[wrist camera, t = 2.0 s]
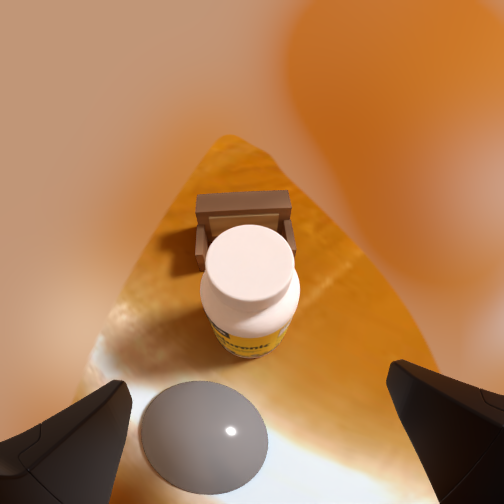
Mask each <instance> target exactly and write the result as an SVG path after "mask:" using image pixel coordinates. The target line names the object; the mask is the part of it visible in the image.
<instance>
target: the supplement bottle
mask: <svg viewBox="0 0 504 504" xmlns="http://www.w3.org/2000/svg"><path fill="white" fill-rule="evenodd" d="M205 269H206V270H205V272H204V274H203V277H202V280H201V286H200V295H201V301H202V305H203V308H204V311H205V313H206V315H207V317H208V319H209V322H210V324H211V326H212V329H213V331H214V333H215V335H216V337H217V339H218V341H219V342H220V343H221V345H222V346H223V347H224V348H225V349H226V350H227V351H229V352H230V353H232V354H234V355H236V356H239V357H243V358H257V357H261V356H264V355H266V354H268V353H270V352H271V351H273V350H274V349H275V348H276V347H277V346H278V345H279V343H280V342H281V341H282V339H283V337H284V335H285V333H286V331H287V328H288V326H289V324H290V322H291V319H292V317H293V315H294V313H295V310H296V308H297V304H298V300H299V295H300V285H299V279H298V276H297V273H296V271H295V269H294V256H293V253H292V250H291V248H290V246H289V244H288V243H287V242H286V240H285V239H284V238H283V237H282V236H281V235H279V234H278V233H277V232H275V231H273V230H271V229H269V228H267V227H263V226H259V225H241V226H236V227H233V228H230V229H228V230H226V231H224V232H223V233H221V234H220V235H219V236H218V237H217V238H216V239H215V240H214V241H213V242H212V244H211V245H210V247H209V249H208V251H207V254H206V259H205Z"/></svg>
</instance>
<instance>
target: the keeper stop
mask: <svg viewBox="0 0 504 504" xmlns="http://www.w3.org/2000/svg"><path fill="white" fill-rule="evenodd" d="M291 209H292V207H291V202H290V198H289V193H288V190H278V191H251V192H231V193H215V194H200V195H197V201H196V212H195V213H196V217H197V221H198V225H197V233H196V249H195V256H196V259H197V262H198V266H199V269H200V271H205V270H206V269H205V259H206V254H207V251H208V242H209V241H214V240H215V239H216V238H217V237H218V236H219V235H220V234H221V233H223V232H224V231H226V230H228V229H230V228H233V227H236V226H241V225H259V226H263V227H267V228H269V229H271V230H273V231H275V232H277V233H278V234H279V235H281V236H282V237H283V238H284V239H285V240H286V242H287V243H288V244H289V246H290V248H291V250H292V253H293V256H294V258H295V254H296V244H295V239H294V234H293V229H292V223H291V220H290V215H291Z"/></svg>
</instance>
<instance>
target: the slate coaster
mask: <svg viewBox="0 0 504 504" xmlns="http://www.w3.org/2000/svg"><path fill="white" fill-rule="evenodd" d="M141 438H142V444H143V448H144V451H145V454H146V456H147V458H148V460H149V462H150V463H151V465H152V466H153V468H154V469H155V470H156V471H157V472H158V473H159V474H160V475H161V476H162V477H163V478H164V479H165V480H167V481H168V482H170V483H171V484H173V485H175V486H176V487H178V488H181V489H183V490H186V491H189V492H192V493H197V494H206V495H213V494H222V493H227V492H230V491H233V490H236V489H238V488H240V487H242V486H243V485H245V484H246V483H248V482H249V481H250V480H251V479H252V478H253V477H254V476H255V475H256V474H257V473H258V471H259V470H260V468H261V467H262V465H263V463H264V460H265V458H266V454H267V450H268V435H267V431H266V426H265V424H264V421H263V419H262V417H261V415H260V414H259V412H258V411H257V409H256V408H255V407H254V405H253V404H252V403H251V402H250V401H249V400H248V399H246V398H245V397H244V396H243V395H241V394H240V393H238V392H237V391H235V390H233V389H231V388H229V387H227V386H224V385H221V384H218V383H214V382H208V381H191V382H185V383H181V384H178V385H175V386H172V387H170V388H169V389H167V390H165V391H164V392H162V393H161V394H159V395H158V396H157V397H156V398H155V399H154V400H153V402H152V403H151V404H150V406H149V407H148V409H147V411H146V413H145V416H144V418H143V422H142V429H141Z"/></svg>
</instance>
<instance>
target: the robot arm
mask: <svg viewBox="0 0 504 504" xmlns="http://www.w3.org/2000/svg"><path fill="white" fill-rule="evenodd" d="M386 384H387V388H388V390H389V393H390V395H391V398H392V400H393V403H394V406H395V408H396V411H397V414H398V416H399V418H400V421H401V423H402V425H403V427H404V429H405V430H406V432H407V434H408V436H409V438H410V440H411V442H412V444H413V447H414V449H415V451H416V453H417V455H418V457H419V459H420V461H421V463H422V465H423V467H424V470H425V472H426V474H427V476H428V478H429V480H430V483H431V485H432V487H433V489H434V492H435V494H436V496H437V498H438V501H439V502H440V503H439V504H504V395H499V394H496V393H493V392H490V391H487V390H483V389H479V388H477V387H475V386H472V385H469V384H466V383H463V382H460V381H458V380H455V379H452V378H449V377H447V376H444V375H442V374H439V373H436V372H434V371H431V370H428V369H426V368H423V367H421V366H418V365H415V364H413V363H410V362H408V361H405V360H403V359H401V360H397V361H393V362H392V363H391V364H390V368H389V372H388V376H387V380H386ZM131 409H132V398H131V395H130V392H129V390H128V387H127V384H126V383H125V382H124V381H122V380H112V381H111V382H109V383H107V384H106V385H104V386H102V387H101V388H99V389H98V390H96V391H94V392H93V393H91V394H89V395H88V396H86V397H84V398H83V399H81V400H79V401H78V402H76V403H74V404H73V405H71V406H69V407H68V408H66V409H64V410H62V411H61V412H59V413H57V414H56V415H54V416H52V417H50V418H49V419H47V420H45V421H43V422H42V424H41V423H40V424H38V425H36V426H34V427H33V428H31V429H29V430H27V431H25V432H23V433H21V434H19V435H17V436H14V437H12V438H10V439H7V440H5V441H2V442H0V504H109V500H110V496H111V492H112V488H113V484H114V480H115V477H116V473H117V469H118V466H119V462H120V458H121V455H122V452H123V448H124V445H125V441H126V436H127V431H128V425H129V420H130V414H131Z"/></svg>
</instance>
